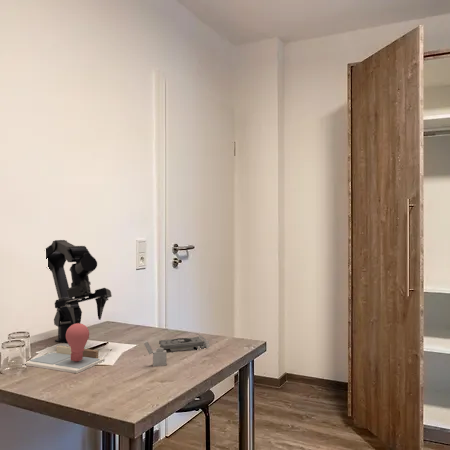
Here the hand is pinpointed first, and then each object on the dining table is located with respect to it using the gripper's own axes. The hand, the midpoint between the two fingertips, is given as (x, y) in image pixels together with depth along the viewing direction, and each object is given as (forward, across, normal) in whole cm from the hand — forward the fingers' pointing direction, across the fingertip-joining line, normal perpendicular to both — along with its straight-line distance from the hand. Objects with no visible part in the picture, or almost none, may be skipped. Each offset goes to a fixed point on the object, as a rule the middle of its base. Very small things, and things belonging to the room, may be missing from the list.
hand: (86, 322), depth 157 cm
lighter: (+20, +23, -9) cm, 32 cm away
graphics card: (+16, +29, +12) cm, 35 cm away
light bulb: (+13, -1, -11) cm, 17 cm away
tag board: (+12, -6, -9) cm, 16 cm away
